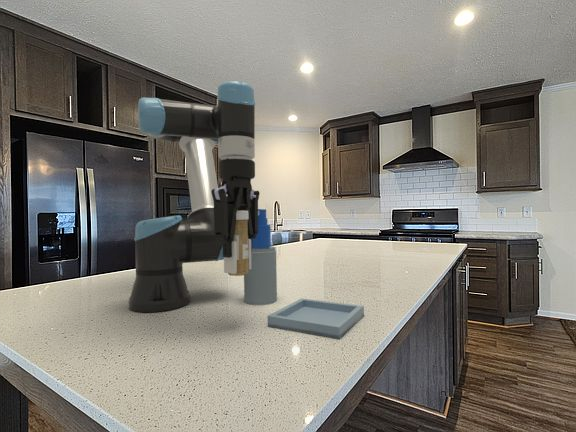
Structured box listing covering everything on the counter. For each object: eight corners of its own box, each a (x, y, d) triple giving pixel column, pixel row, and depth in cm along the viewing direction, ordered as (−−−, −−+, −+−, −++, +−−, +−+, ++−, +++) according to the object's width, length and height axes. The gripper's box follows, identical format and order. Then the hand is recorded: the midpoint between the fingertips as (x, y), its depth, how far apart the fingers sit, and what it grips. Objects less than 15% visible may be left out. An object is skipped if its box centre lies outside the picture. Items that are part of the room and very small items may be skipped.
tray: (267, 326, 71) (267, 315, 71) (301, 307, 85) (301, 298, 85) (339, 339, 63) (339, 327, 63) (363, 315, 77) (363, 305, 77)
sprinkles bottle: (252, 274, 71) (252, 210, 70) (232, 277, 68) (231, 210, 68) (243, 271, 75) (242, 210, 74) (223, 273, 72) (223, 210, 72)
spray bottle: (268, 306, 87) (266, 208, 86) (238, 303, 90) (236, 209, 90) (282, 297, 95) (280, 208, 95) (253, 295, 98) (252, 209, 98)
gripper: (223, 152, 61) (225, 280, 62) (273, 163, 76) (274, 265, 77) (193, 156, 65) (195, 276, 66) (246, 165, 80) (247, 262, 81)
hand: (238, 270), depth 71 cm, fingers closed on sprinkles bottle, 4 cm apart
